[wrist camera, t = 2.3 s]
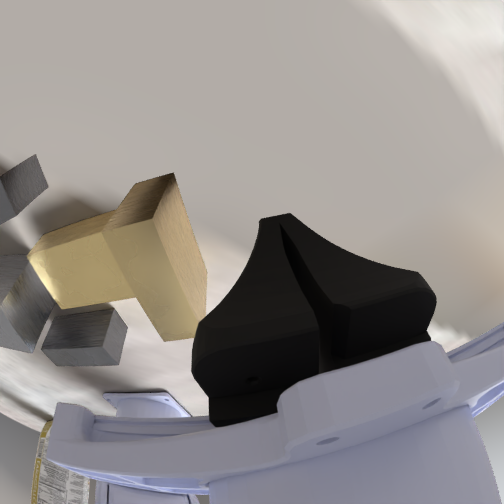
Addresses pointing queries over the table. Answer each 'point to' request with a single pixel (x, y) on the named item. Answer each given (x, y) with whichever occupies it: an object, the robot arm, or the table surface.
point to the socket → (71, 326)
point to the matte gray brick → (22, 304)
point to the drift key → (131, 259)
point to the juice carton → (56, 478)
